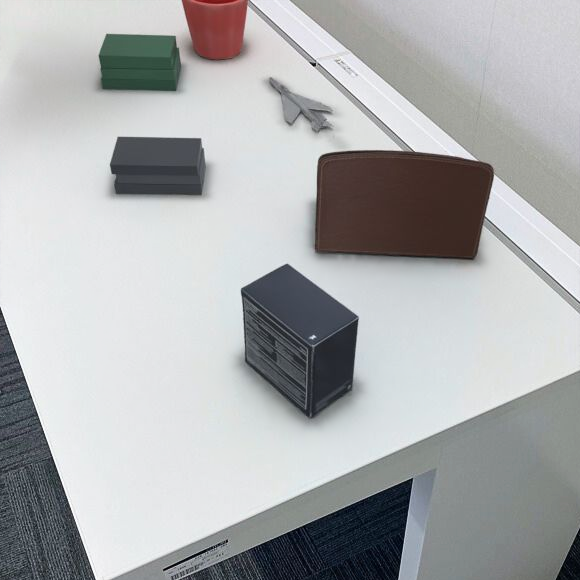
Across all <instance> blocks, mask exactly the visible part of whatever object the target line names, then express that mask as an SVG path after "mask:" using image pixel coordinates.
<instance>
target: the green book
mask: <svg viewBox="0 0 580 580" xmlns="http://www.w3.org/2000/svg"><path fill="white" fill-rule="evenodd" d="M177 43H178V42H177V36H176V35H168V34H167V35H166V34H165V35H163V34H134V33H133V34H132V33H131V34H130V33H129V34H127V33H106V34H105V36H104V39H103V42H102V45H101V47H100V50H99V53H98V61H99V66H100V69H101V68H121V69H159V70H172V68H173V64H174V59H175V55H176V50H177V48H178V46H177V45H178V44H177Z"/></svg>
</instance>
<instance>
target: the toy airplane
mask: <svg viewBox="0 0 580 580" xmlns="http://www.w3.org/2000/svg"><path fill="white" fill-rule="evenodd" d="M268 80H269V81H270V83H271V85H273V86H274V87H275V89H276V90H277V91H278V92H279V93H281V99H282V106H283V112H284V120H285V121H287V122H288V123H289V124H293V122H294V121H295V119H296V118H297V116H299V114H300V112H301V113H302V114H303V115H304V116H305V117H306V118H308V119H309V120H310V121H311V127H312V128H313V129H314V131H315V132H319V130H320V129H321V128H322V129H324V128H325V127H332V128H334V125H333V124H331V123H330V122H329V121H328V118H327V117H326V116H325V115H324V114H322V113H320V112H317V111H314V110H319V111H327V112H334V110H333V109H332V106H329V105H327V104H324V103H321V102H319V101H316V100H313V99H311V98H308V97H306V96H303V95H300V94H298V93H295V92H292V91H290V89H288V88H287V86H286V85H283V84H282V83H280V82H279V80H277V79H275V78H274V77H271V76H270V77H269V78H268ZM330 133H331V131H328V134H330ZM332 138H335V136H332Z"/></svg>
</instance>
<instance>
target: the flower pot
mask: <svg viewBox="0 0 580 580" xmlns="http://www.w3.org/2000/svg"><path fill="white" fill-rule="evenodd" d="M181 3H182V8H183V11H184V16H185V19H186V24H187V29H188V32H189V35H190V39H191V42H192V45H193V49H194V51H195V52H196V53H197V55H199V56H201V57H203V58H206V59H209V60H216V61H217V60H229V59H232V58H234V57H236V56H238V55H239V54H240V53H242V52H241V51H242V50H243V49H242V48H243V42H244V36H245V29H246V28H245V27H246V22H247V21H246V20H247V13H248V4H249V0H181Z"/></svg>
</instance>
